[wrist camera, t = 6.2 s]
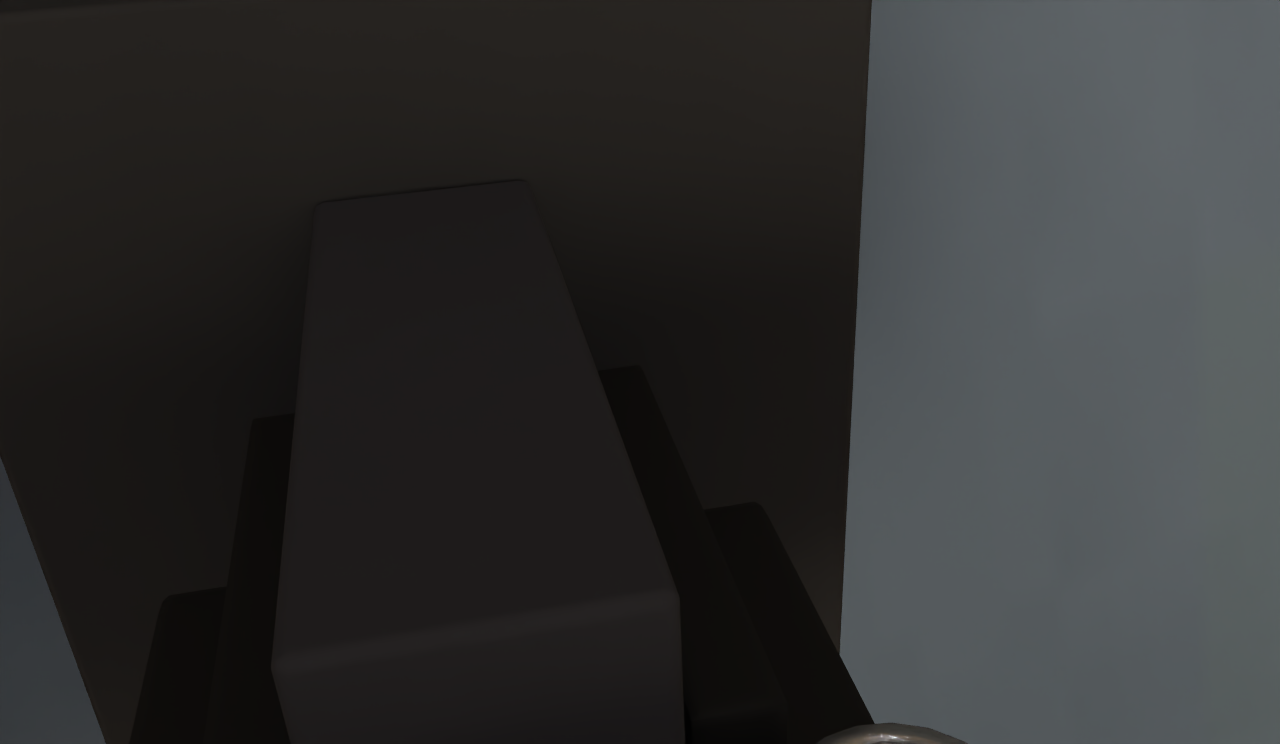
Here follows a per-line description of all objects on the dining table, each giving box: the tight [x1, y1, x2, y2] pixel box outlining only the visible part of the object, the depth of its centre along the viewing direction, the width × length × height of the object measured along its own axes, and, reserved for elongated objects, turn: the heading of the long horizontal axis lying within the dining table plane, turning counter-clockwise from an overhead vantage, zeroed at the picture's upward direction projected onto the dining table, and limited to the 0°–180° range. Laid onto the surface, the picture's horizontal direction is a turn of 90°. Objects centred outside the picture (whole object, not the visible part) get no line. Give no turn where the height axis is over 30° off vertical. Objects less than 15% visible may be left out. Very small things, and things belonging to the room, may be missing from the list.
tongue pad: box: [0, 0, 872, 744], centre depth 8 cm, size 7×12×6 cm, turn 3°
